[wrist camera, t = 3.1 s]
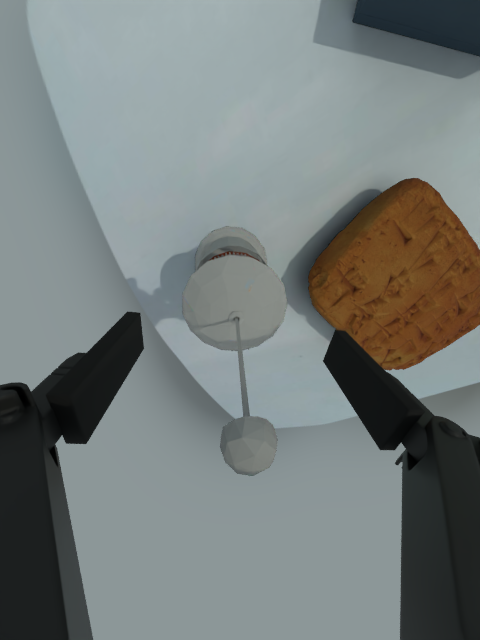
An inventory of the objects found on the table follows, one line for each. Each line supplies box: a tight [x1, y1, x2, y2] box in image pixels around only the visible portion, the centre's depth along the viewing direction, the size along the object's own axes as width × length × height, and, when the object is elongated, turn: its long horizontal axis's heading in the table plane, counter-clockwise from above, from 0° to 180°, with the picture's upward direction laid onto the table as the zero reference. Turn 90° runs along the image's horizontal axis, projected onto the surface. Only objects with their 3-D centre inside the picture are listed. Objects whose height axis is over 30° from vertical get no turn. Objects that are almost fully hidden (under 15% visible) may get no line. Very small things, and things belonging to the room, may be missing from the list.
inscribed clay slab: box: [308, 178, 480, 370], centre depth 27 cm, size 22×17×8 cm
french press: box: [182, 226, 287, 476], centre depth 18 cm, size 10×12×25 cm
